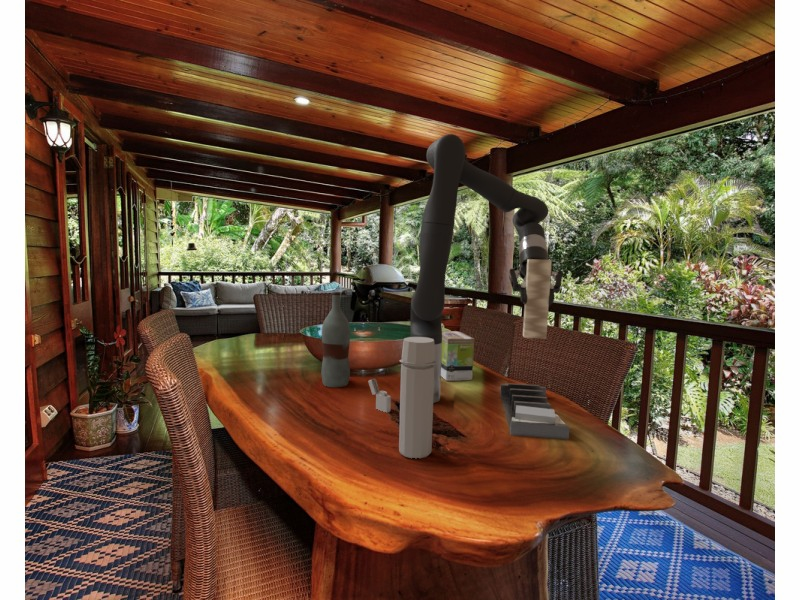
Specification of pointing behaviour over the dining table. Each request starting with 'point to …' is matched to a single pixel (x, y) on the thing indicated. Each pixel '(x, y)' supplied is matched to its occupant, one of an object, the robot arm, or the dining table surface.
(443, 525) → the dining table surface
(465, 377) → the tea box
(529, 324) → the beige tall block
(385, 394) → the lighter
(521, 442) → the dining table surface
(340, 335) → the vodka
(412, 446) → the water bottle
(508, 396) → the rack
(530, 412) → the offcut stack
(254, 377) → the dining table surface
